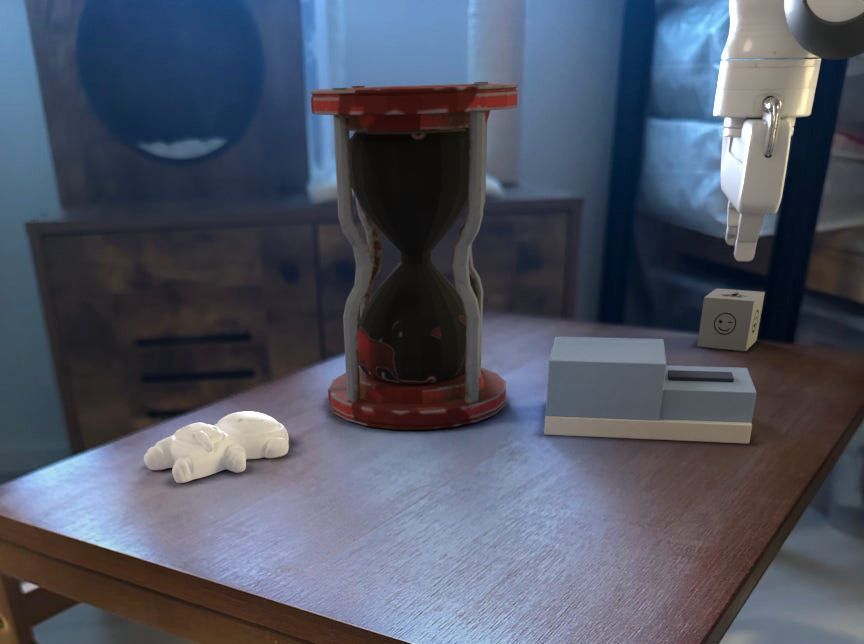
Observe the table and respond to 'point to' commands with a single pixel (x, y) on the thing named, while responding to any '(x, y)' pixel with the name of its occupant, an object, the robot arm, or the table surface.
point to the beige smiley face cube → (730, 319)
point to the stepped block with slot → (643, 393)
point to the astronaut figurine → (219, 446)
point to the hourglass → (413, 252)
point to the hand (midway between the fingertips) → (738, 252)
